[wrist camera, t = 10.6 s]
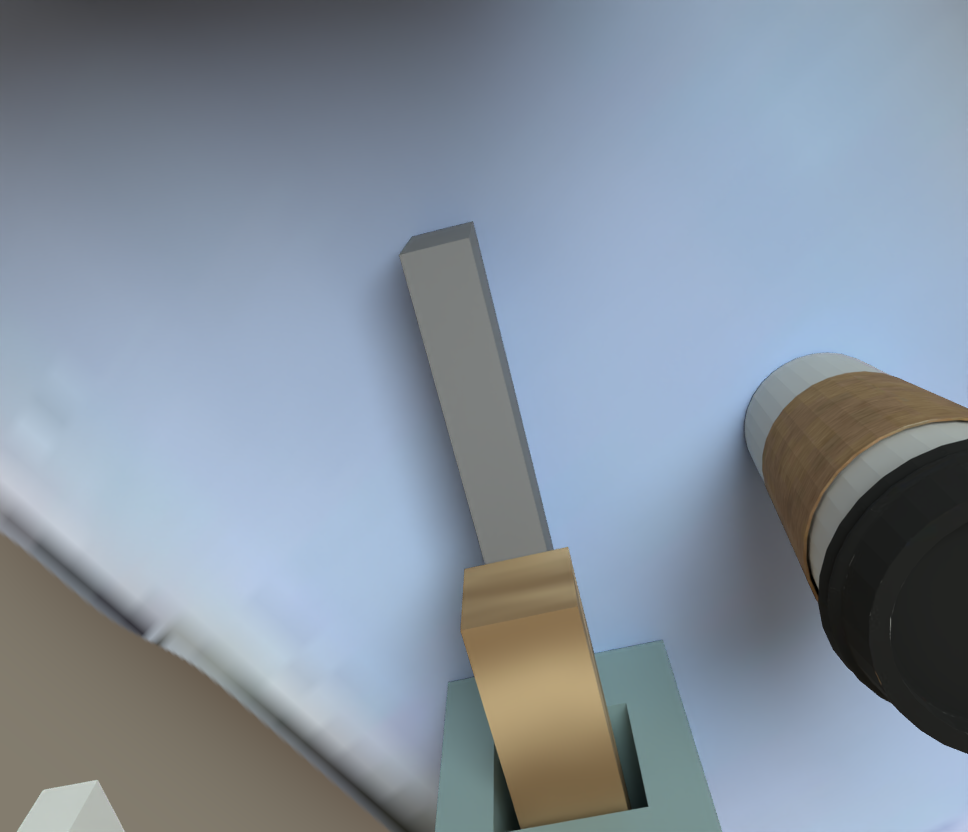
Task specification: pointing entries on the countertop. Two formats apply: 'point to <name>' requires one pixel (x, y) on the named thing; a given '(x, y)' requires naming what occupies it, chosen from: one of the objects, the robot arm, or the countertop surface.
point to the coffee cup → (876, 525)
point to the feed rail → (476, 391)
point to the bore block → (640, 743)
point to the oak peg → (542, 689)
